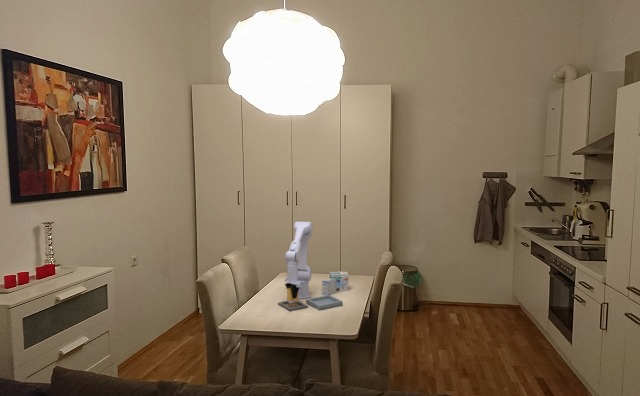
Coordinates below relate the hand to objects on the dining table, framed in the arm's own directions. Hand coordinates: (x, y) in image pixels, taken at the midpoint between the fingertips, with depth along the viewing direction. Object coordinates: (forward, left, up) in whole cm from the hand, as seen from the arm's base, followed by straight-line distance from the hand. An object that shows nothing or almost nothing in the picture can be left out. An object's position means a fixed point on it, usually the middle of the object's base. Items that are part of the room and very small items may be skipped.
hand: (292, 297), depth 245 cm
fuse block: (0, 0, -2) cm, 2 cm away
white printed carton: (-13, +39, -5) cm, 42 cm away
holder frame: (0, 0, -5) cm, 5 cm away
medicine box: (-9, +29, -5) cm, 31 cm away
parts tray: (+7, +16, -5) cm, 18 cm away
